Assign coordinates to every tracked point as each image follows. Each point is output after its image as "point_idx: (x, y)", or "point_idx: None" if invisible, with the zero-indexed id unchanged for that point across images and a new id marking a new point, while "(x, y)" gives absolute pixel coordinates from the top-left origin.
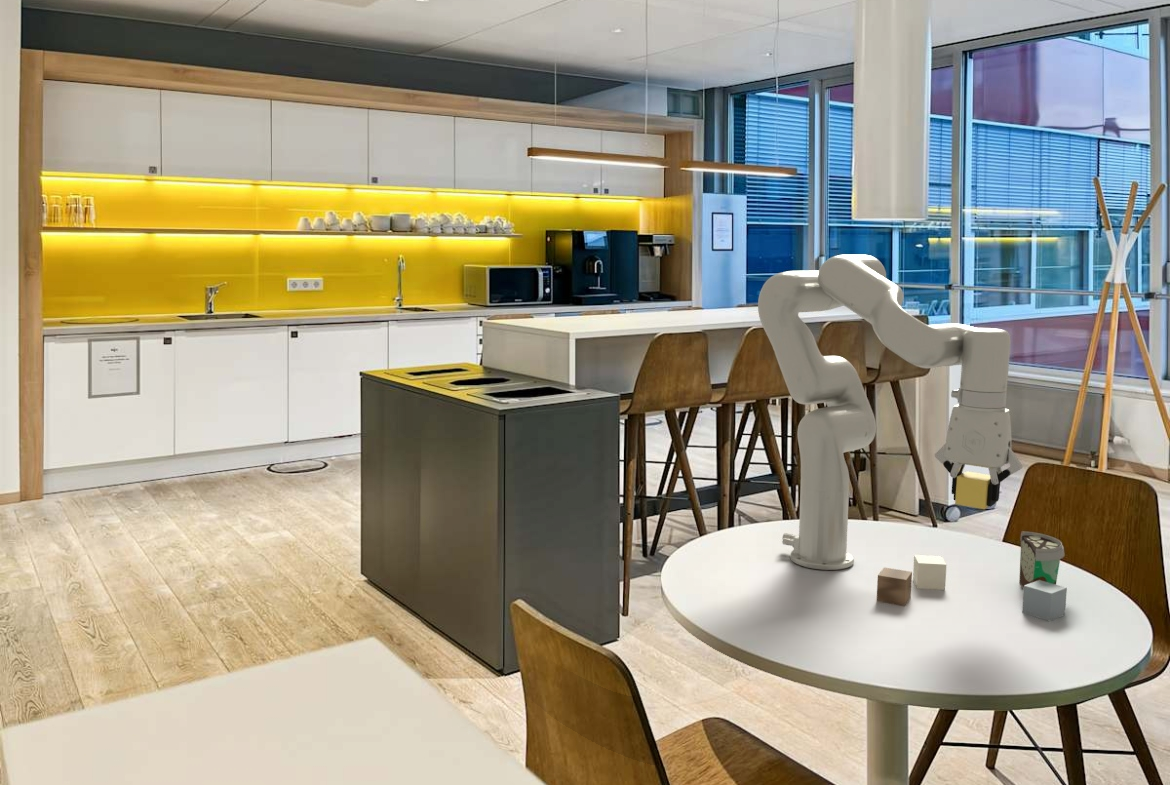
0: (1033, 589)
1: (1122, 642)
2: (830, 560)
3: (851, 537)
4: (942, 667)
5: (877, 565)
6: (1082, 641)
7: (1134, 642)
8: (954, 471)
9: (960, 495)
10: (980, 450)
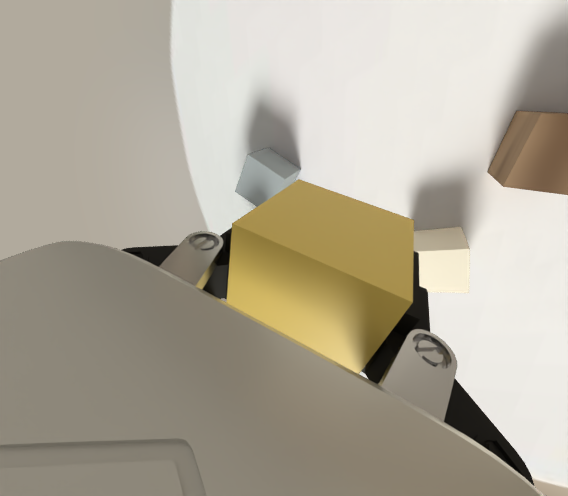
0: (272, 170)
1: (192, 104)
2: None
3: (540, 426)
4: None
5: (521, 320)
6: (226, 78)
7: (184, 111)
8: (427, 366)
9: (389, 231)
10: (31, 468)
